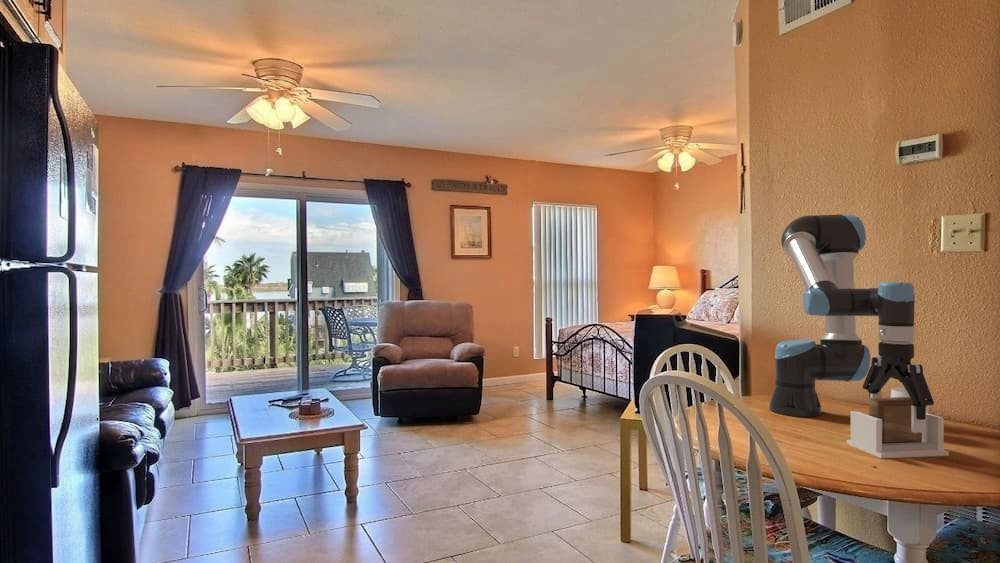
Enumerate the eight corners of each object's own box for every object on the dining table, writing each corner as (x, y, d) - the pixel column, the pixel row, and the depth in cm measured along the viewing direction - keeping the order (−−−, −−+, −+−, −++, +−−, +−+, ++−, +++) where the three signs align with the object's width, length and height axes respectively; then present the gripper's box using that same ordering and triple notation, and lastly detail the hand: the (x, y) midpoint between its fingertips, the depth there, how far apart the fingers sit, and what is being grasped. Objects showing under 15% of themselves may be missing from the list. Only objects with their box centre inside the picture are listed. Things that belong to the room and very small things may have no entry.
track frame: (846, 443, 150) (846, 409, 150) (909, 441, 152) (909, 408, 152) (880, 458, 139) (880, 421, 138) (948, 455, 140) (949, 419, 140)
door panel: (869, 444, 146) (869, 398, 146) (912, 442, 148) (912, 396, 147) (878, 448, 143) (878, 400, 143) (922, 446, 144) (922, 399, 144)
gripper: (848, 336, 157) (847, 413, 157) (923, 348, 132) (922, 439, 133) (873, 336, 158) (873, 412, 158) (952, 348, 133) (952, 438, 133)
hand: (895, 424), depth 145 cm, fingers open, 13 cm apart
